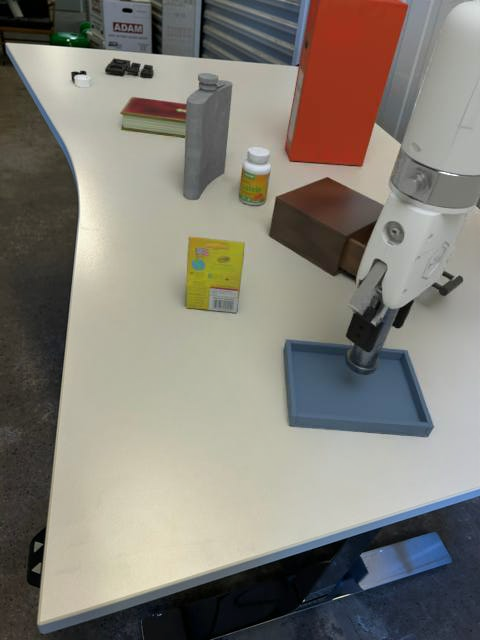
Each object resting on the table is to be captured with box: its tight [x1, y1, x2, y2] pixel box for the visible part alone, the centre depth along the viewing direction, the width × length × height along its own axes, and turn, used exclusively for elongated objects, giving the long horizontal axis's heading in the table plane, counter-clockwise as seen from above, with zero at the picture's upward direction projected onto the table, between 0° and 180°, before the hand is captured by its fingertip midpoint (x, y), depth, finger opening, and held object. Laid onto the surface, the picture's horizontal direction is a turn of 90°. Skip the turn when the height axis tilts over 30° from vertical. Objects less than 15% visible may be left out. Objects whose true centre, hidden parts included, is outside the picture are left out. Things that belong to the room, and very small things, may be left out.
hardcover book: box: [119, 96, 186, 139], centre depth 116 cm, size 12×21×4 cm, turn 87°
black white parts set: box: [70, 57, 154, 89], centre depth 140 cm, size 20×25×3 cm
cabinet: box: [268, 176, 385, 277], centre depth 82 cm, size 15×14×8 cm
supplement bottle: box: [238, 146, 272, 206], centre depth 90 cm, size 5×5×10 cm
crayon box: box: [185, 236, 246, 314], centre depth 65 cm, size 7×3×12 cm, turn 88°
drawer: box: [339, 224, 464, 297], centre depth 75 cm, size 18×13×6 cm
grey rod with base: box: [345, 286, 399, 375], centre depth 52 cm, size 4×5×10 cm
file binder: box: [284, 0, 409, 167], centre depth 103 cm, size 8×17×32 cm, turn 95°
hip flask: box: [182, 72, 233, 201], centre depth 90 cm, size 16×4×20 cm, turn 160°
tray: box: [283, 338, 435, 438], centre depth 59 cm, size 16×12×2 cm
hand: (374, 331), depth 53 cm, fingers closed on grey rod with base, 5 cm apart
